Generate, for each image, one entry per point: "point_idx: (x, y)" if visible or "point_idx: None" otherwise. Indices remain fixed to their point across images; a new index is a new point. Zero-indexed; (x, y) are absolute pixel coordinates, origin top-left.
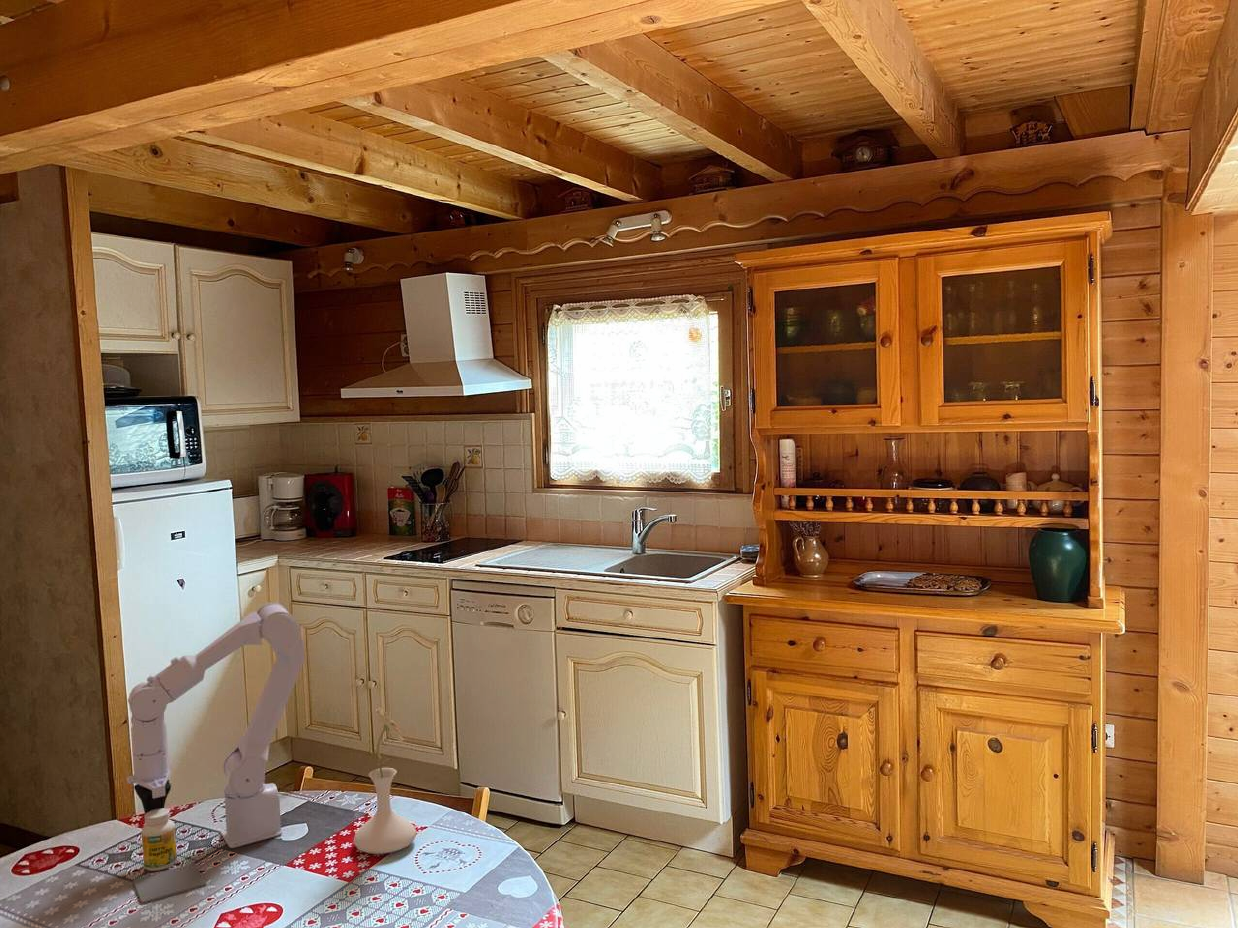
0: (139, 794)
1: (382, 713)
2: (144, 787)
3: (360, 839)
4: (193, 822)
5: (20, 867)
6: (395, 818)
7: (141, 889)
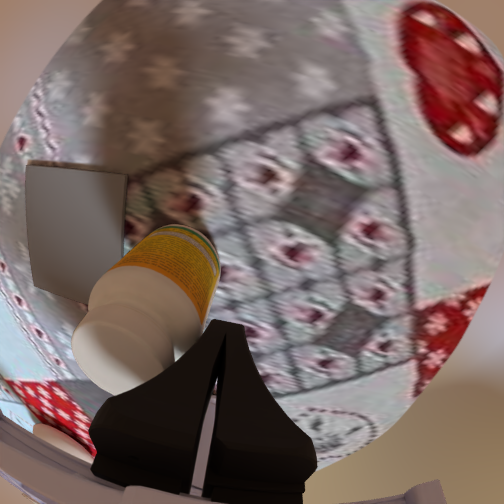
0: (98, 413)
1: None
2: (174, 470)
3: (46, 435)
4: (349, 385)
5: (451, 24)
6: None
7: (68, 178)
